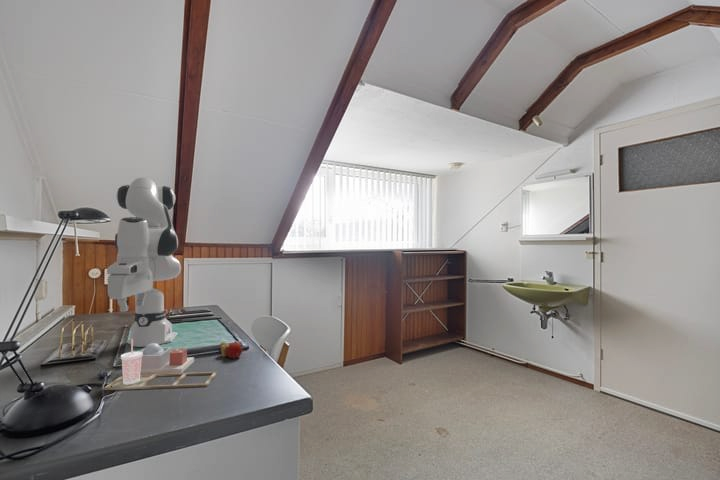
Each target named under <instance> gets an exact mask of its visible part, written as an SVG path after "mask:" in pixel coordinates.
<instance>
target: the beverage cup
mask: <svg viewBox="0 0 720 480" xmlns="http://www.w3.org/2000/svg"><path fill="white" fill-rule="evenodd" d="M130 347H131V348H130V349H131V350H130V351H129V352H125V353H123V354H121V355H120V359H121V370H122V371H121V372H122V375H123V384H126V385H127V384H134V383H137V382H139V381H140V372H141V360H142V356H143V352H140V350H139V351H135V350H134V346H133V339H131V345H130Z"/></svg>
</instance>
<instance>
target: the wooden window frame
mask: <svg viewBox="0 0 720 480" xmlns="http://www.w3.org/2000/svg"><path fill="white" fill-rule="evenodd" d="M203 375H204V376H206V375H207V376H208V375H209V378H208V379H207V380H206V381H205V382H204V383H203V382H202V383H182V384H181V383H180V382H182V380H183V379H185V377H187V376H203ZM216 375H218V371H200V372H198V371H196V372H195V371H193V372H192V371H191V372H182V373H161V374H140V381H139V382H137V383H134V384H127V385H126V384H123V374H122V375H121V376H119V377H117V378H116V379H114V380H112V382H110V383H109V384H107V385H106V386H104V387H103V388H104V390H103V391H118V390H121V391H123V390H146V389H148V390H149V389H170V388H171V389H173V388H199V387H204V388H205V387H208V386H209V384H210V383H211V382H212V381H213V379H215V377H216ZM179 376H180V377H179ZM155 377H156V378H157V377H178V378H177V379H176V380H175V381H174V382H173V383H172V384H152V385H151V384H150V385H147V384H149V383H150V382H151V381H152V380H153V379H155ZM111 386H112V387H111Z"/></svg>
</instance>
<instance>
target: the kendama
mask: <svg viewBox="0 0 720 480" xmlns="http://www.w3.org/2000/svg"><path fill="white" fill-rule="evenodd" d="M219 347H220V352H221V353H220V354H221V355H222V357H223V358H224V357H228V358H230V359H237V358H239V357H240V356H241V355H242V352H243V346H242V345H241V344H240V342H239V341H238V340H237V341H236V340H235V342H231V343H230V344H229V343H227V342H226V341H222V342H221V343H220V345H219Z"/></svg>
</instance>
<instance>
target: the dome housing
mask: <svg viewBox="0 0 720 480" xmlns="http://www.w3.org/2000/svg"><path fill="white" fill-rule="evenodd" d="M161 348H162V349H164V352H162V353H161V354H159V355H143V356H142V360H141V372H140V374H161V373H184V371H186V370H187V369H188V368H189V367H190V366H191V365H192V364H193V363H194V362H195V357H194V356H192V357H191V356H190V357H188V349H187V348H181V349H178V348H177V349H174V347H173V346H161ZM144 349H145V347H143V348H142V349H140V350H139V351H140V352H142V351H144Z"/></svg>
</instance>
